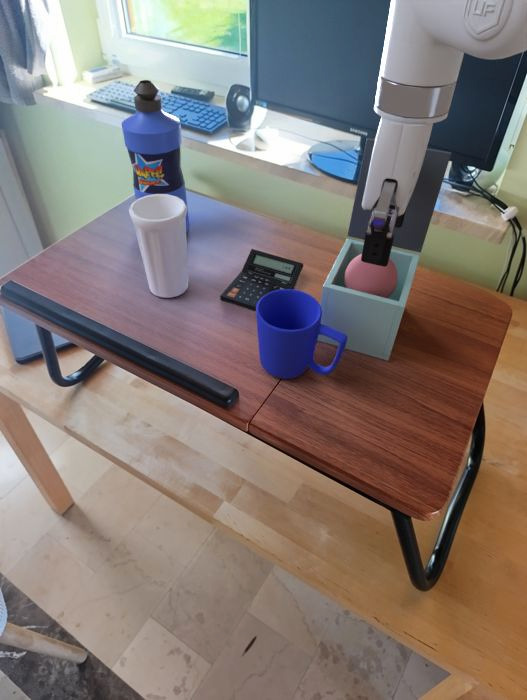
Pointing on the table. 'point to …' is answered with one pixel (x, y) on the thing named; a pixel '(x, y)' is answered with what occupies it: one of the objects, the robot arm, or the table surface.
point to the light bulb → (371, 277)
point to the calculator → (261, 279)
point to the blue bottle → (154, 146)
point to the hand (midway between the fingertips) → (382, 243)
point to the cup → (162, 242)
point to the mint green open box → (365, 304)
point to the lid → (417, 208)
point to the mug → (292, 333)
